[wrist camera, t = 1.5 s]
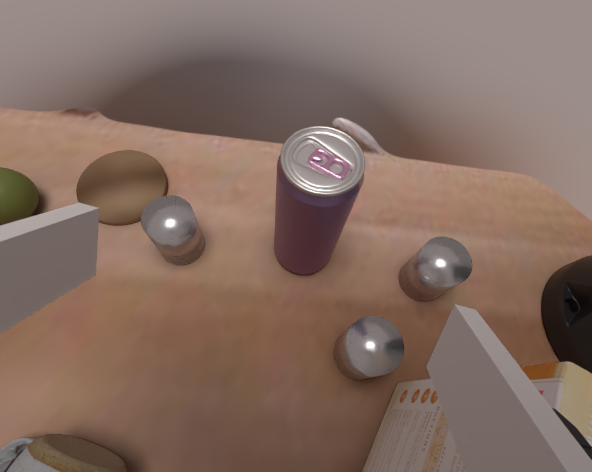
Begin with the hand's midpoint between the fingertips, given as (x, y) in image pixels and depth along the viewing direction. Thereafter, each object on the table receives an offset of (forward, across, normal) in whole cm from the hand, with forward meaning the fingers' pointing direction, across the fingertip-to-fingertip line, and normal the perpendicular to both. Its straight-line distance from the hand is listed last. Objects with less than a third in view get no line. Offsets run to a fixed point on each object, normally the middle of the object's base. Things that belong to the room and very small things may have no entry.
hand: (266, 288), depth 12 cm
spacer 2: (+22, +13, -6) cm, 27 cm away
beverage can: (+22, +1, -7) cm, 23 cm away
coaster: (+24, -20, -6) cm, 31 cm away
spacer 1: (+20, -11, -9) cm, 25 cm away
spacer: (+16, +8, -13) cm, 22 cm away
